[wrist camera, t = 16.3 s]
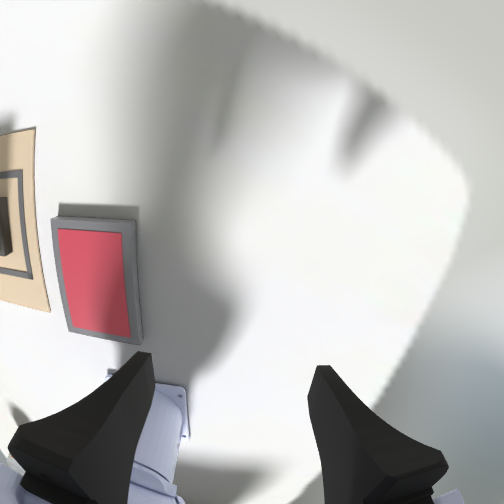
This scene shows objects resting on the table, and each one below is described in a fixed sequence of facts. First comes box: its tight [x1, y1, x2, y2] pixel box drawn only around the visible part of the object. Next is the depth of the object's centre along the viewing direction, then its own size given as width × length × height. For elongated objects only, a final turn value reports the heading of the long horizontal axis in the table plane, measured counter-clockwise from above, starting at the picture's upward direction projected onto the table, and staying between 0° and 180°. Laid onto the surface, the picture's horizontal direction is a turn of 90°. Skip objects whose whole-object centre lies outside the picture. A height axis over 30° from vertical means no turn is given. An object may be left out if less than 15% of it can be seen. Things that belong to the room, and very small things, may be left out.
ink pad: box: [51, 216, 143, 345], centre depth 21 cm, size 10×7×1 cm
